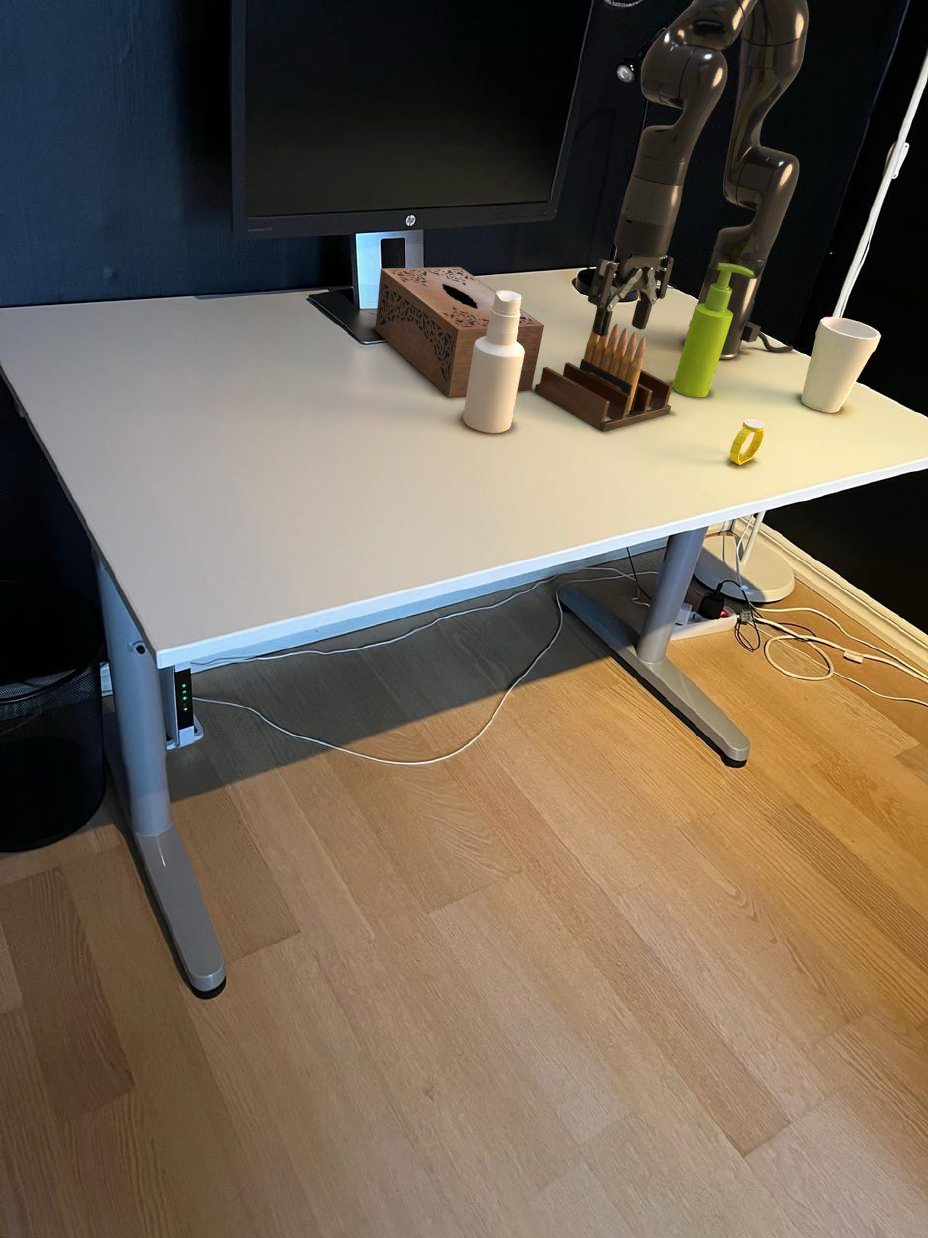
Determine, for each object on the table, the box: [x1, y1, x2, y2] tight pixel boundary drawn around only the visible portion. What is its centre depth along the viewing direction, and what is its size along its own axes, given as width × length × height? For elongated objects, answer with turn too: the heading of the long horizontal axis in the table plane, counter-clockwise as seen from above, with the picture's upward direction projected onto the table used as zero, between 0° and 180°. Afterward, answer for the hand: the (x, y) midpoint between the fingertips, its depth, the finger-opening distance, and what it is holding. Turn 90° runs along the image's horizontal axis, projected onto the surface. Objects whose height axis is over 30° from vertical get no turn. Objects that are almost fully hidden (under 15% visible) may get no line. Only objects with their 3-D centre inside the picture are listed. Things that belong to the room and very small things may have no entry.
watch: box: [729, 418, 765, 466], centre depth 131 cm, size 6×3×6 cm, turn 133°
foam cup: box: [800, 316, 882, 414], centre depth 151 cm, size 10×9×13 cm
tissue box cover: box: [375, 266, 545, 398], centre depth 144 cm, size 26×14×10 cm, turn 29°
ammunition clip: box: [579, 323, 646, 415], centre depth 139 cm, size 11×2×12 cm, turn 40°
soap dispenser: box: [672, 263, 754, 398], centre depth 146 cm, size 6×7×20 cm
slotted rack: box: [533, 362, 673, 432], centre depth 141 cm, size 15×15×4 cm
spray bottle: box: [462, 289, 525, 434], centre depth 125 cm, size 7×7×18 cm
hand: (618, 331), depth 135 cm, fingers open, 8 cm apart
